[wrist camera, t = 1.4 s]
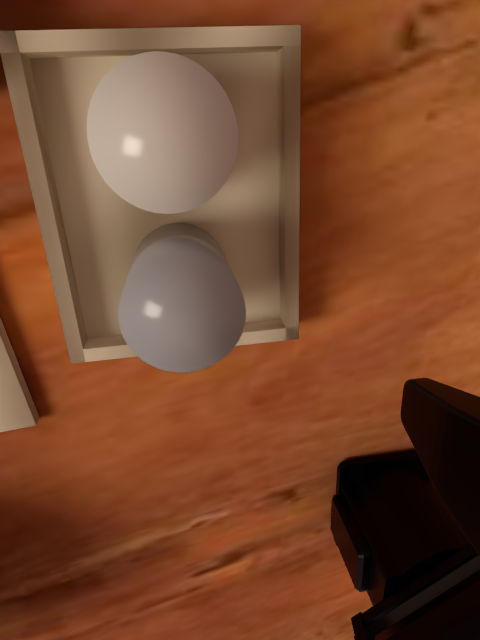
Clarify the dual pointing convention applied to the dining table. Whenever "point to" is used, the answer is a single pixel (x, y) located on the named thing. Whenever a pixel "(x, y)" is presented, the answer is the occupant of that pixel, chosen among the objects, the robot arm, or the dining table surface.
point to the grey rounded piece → (181, 300)
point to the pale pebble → (162, 132)
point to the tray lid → (13, 390)
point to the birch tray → (134, 223)
